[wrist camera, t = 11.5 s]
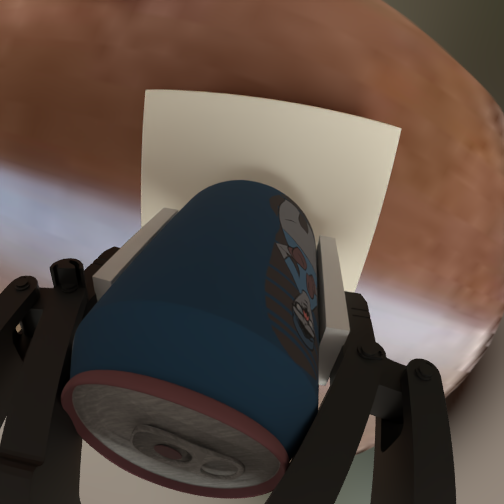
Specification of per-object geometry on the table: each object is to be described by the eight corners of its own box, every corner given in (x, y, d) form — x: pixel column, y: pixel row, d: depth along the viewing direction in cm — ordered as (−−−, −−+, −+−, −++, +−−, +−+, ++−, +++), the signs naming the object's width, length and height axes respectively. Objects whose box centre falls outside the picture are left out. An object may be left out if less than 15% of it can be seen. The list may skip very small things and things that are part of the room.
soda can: (169, 262, 18) (54, 438, 8) (209, 150, 15) (22, 294, 4) (279, 311, 19) (245, 516, 8) (339, 210, 15) (386, 444, 5)
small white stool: (187, 236, 31) (144, 295, 22) (198, 89, 24) (145, 89, 16) (330, 263, 30) (338, 333, 21) (365, 115, 23) (401, 128, 15)
